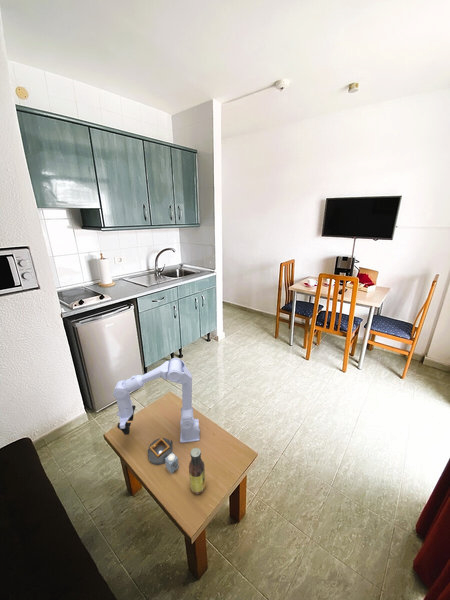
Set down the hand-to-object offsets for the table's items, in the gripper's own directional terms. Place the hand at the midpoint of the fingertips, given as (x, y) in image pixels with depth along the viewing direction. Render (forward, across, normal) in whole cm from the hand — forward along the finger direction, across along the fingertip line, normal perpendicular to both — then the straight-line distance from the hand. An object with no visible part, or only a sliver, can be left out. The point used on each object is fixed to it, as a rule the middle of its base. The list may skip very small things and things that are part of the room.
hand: (128, 426), depth 116 cm
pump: (+10, +15, +21) cm, 28 cm away
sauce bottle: (+10, +24, +32) cm, 42 cm away
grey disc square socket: (+10, +8, +15) cm, 19 cm away
